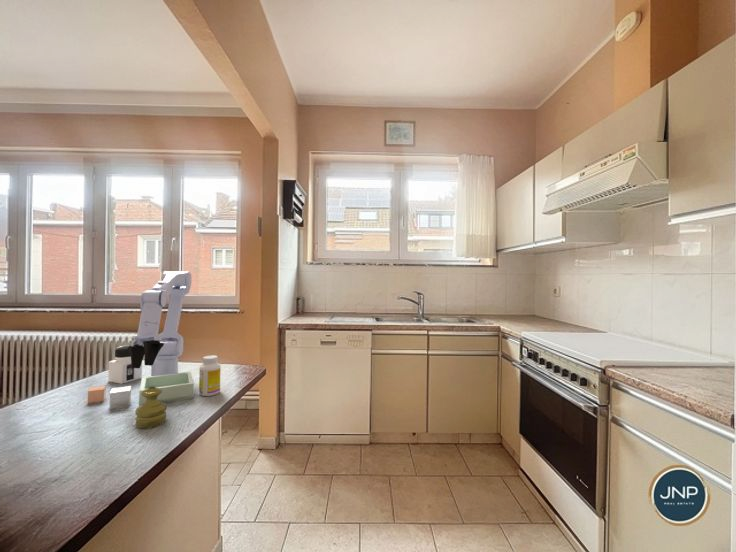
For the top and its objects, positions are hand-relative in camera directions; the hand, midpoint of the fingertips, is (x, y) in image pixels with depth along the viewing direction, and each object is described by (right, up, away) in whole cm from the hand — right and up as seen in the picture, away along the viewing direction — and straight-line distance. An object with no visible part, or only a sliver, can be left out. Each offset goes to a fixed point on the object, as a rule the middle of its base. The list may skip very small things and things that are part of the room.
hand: (142, 366), depth 105 cm
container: (-22, -12, +23) cm, 34 cm away
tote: (+3, -12, +8) cm, 15 cm away
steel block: (-6, -12, -1) cm, 14 cm away
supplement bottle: (+16, -13, +11) cm, 23 cm away
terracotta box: (-16, -12, +2) cm, 20 cm away
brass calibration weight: (+11, -13, -13) cm, 21 cm away
